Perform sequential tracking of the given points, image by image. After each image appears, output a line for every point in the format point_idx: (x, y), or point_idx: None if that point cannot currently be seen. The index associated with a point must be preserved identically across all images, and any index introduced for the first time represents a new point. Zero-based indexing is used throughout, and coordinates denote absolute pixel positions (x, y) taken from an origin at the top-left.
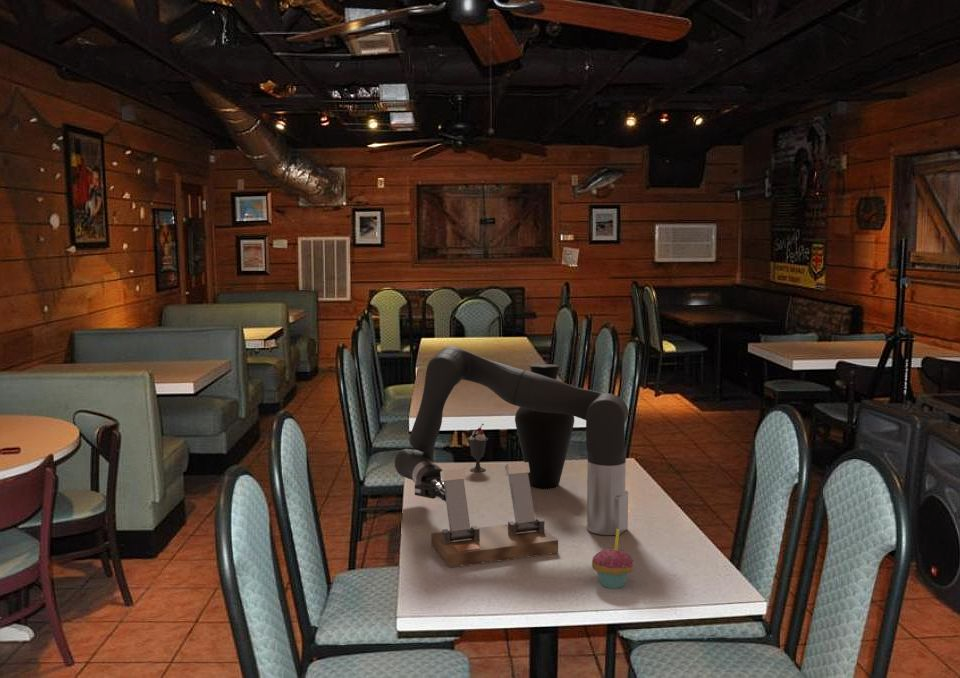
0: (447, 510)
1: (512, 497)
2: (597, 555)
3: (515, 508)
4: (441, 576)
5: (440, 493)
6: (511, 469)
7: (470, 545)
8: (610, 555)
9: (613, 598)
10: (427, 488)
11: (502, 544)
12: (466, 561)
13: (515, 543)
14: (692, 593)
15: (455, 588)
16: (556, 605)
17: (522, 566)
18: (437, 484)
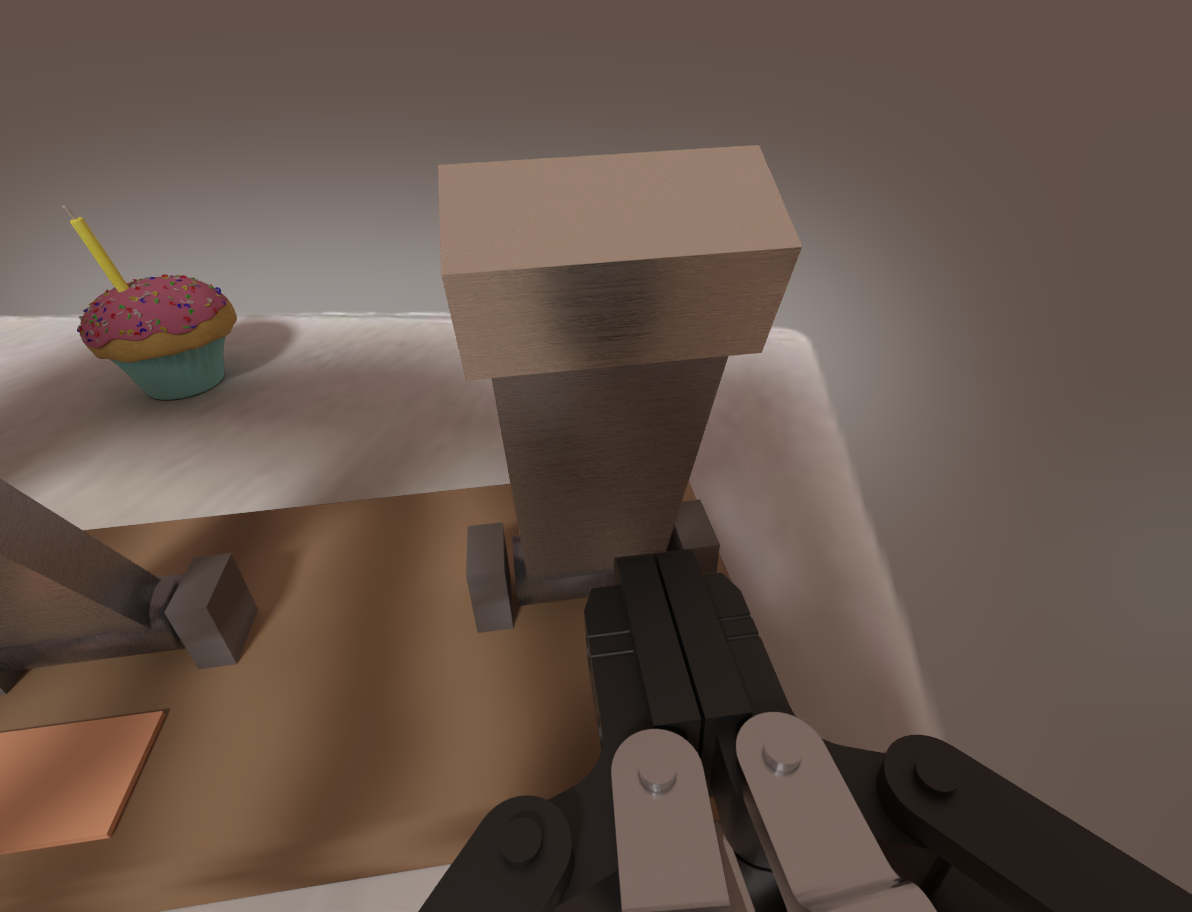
0: (681, 496)
1: (8, 532)
2: (191, 299)
3: (92, 542)
4: (712, 463)
5: (768, 671)
6: None
7: None
8: (173, 278)
9: (260, 340)
10: (1043, 808)
11: (381, 522)
12: None
13: (308, 525)
14: (59, 341)
15: None
16: (418, 331)
17: (364, 493)
18: (873, 893)
